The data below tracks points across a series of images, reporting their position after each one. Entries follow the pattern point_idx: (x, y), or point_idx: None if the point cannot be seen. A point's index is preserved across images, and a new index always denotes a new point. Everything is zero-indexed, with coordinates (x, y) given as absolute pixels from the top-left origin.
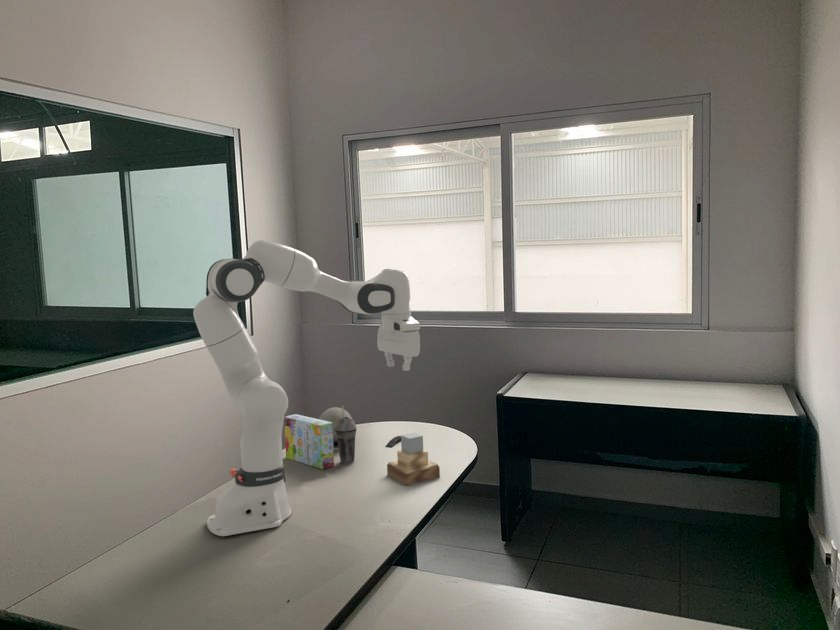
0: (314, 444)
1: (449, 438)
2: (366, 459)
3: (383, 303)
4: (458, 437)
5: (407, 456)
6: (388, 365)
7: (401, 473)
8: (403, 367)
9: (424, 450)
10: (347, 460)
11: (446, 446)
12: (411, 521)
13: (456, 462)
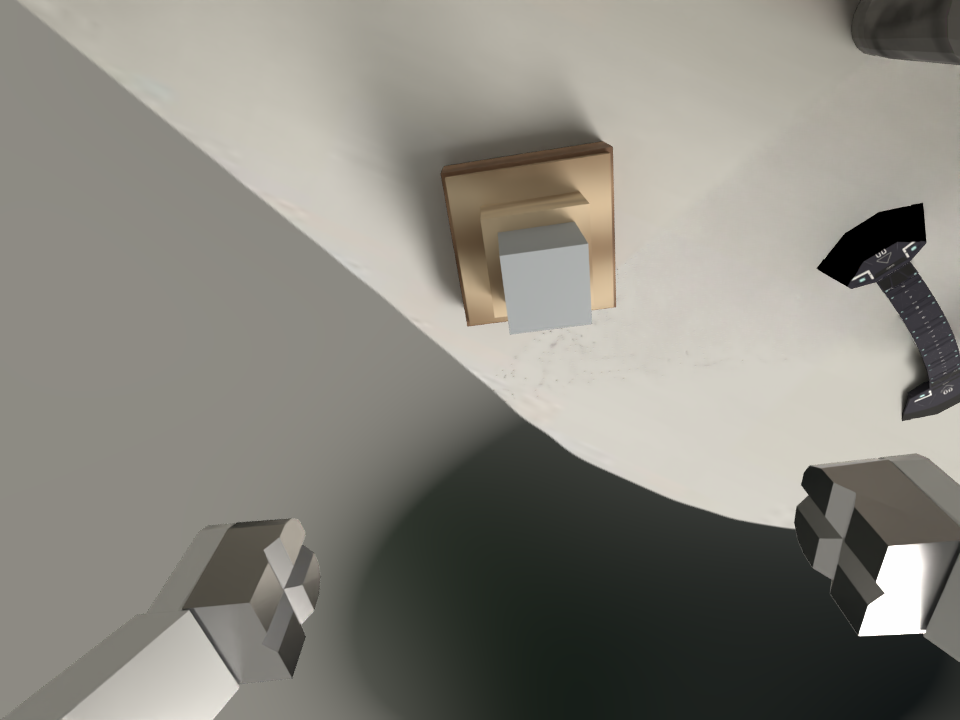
0: None
1: None
2: (852, 128)
3: None
4: None
5: (490, 217)
6: (868, 465)
7: (481, 166)
8: (232, 557)
9: None
10: (871, 2)
11: (742, 453)
12: (80, 30)
13: (572, 413)
